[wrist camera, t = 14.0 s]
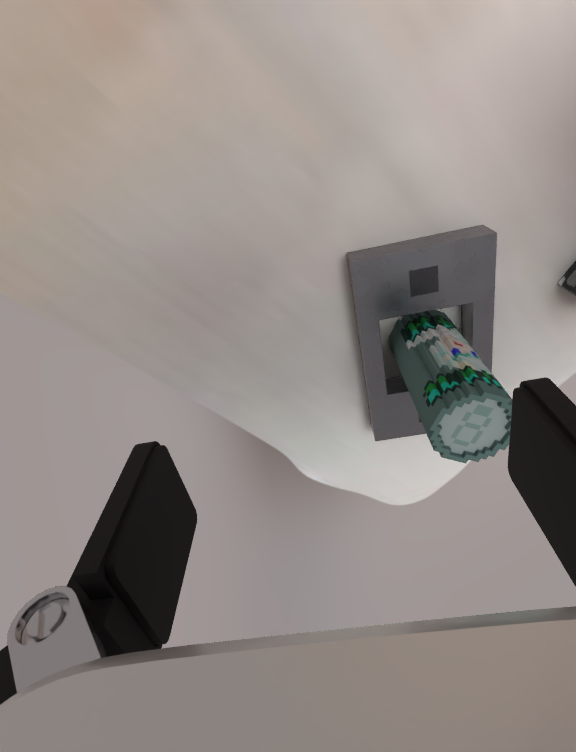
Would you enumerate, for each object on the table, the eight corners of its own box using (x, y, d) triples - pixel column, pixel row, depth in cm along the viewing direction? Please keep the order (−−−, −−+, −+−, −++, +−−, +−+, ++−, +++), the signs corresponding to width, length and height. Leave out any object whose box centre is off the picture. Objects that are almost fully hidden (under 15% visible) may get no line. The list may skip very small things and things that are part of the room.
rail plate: (482, 224, 38) (497, 233, 35) (478, 407, 48) (489, 424, 45) (346, 252, 39) (350, 262, 36) (370, 424, 49) (375, 441, 46)
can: (462, 318, 42) (537, 407, 29) (433, 369, 45) (489, 469, 32) (406, 301, 41) (457, 384, 28) (380, 353, 44) (416, 450, 31)
